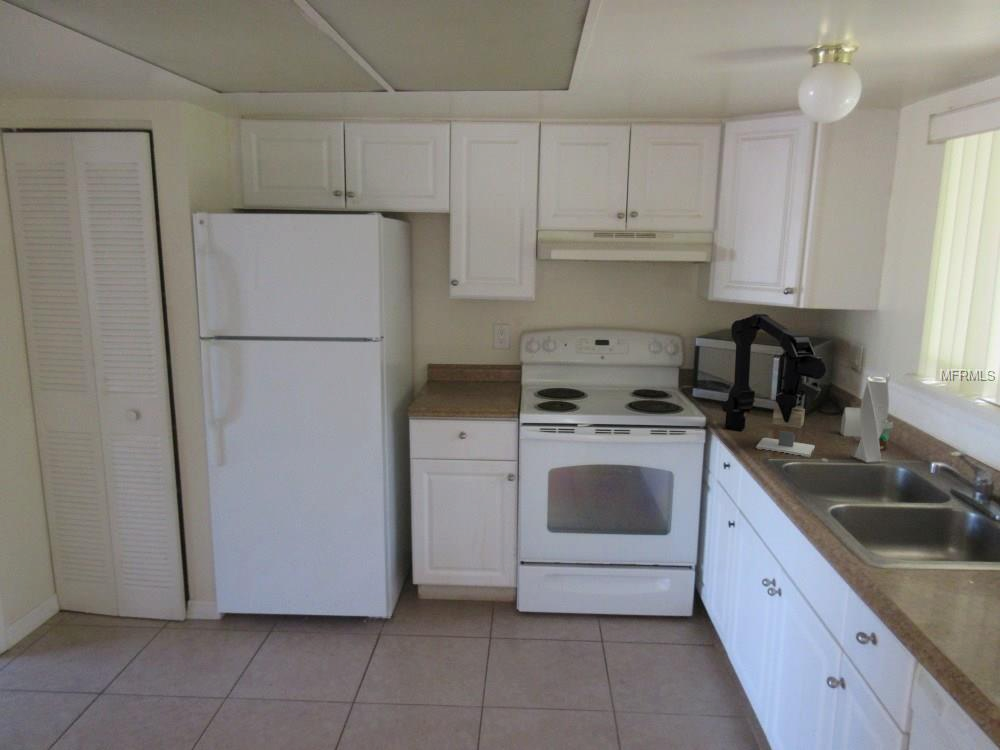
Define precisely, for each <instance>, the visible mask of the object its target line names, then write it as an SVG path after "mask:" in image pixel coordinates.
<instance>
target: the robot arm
mask: <svg viewBox="0 0 1000 750" xmlns="http://www.w3.org/2000/svg"><path fill="white" fill-rule="evenodd" d="M730 328H731V330H730V331H731V338H732V341H734V345H735V362H734V382H733V385H732V387H731V389H730V390H729V393H728V399H727V400H725V402H724V403H723V404H721V410H722V412H724V413H725V422H724V426H723V429H724V430H730V431H731V430H732V431H738V432H742V431H744V430H745V428H747V419H748V417H747V416H746V414H748V413H750V412H751V409H752V407H753V406H754V403H755V401H756V400H755V394H756V392H755V390H752V389H751V387H750V369H751V352H752V345H753V343H754V341H755V340H756V338H757V332H759V331H760V330H762V331H763V332H764V333H766V334H768V335H770V336H771V337H772V338H774V339H775V340H777V341H778V342H779V346H780V347H781V348H782V349H783V350H784V352H783V353H782V354H780V355H779V356H780V358H783V359H784V366H783V375H782V376H781V380H782V384H781V385H782V386H781V388H780V393H778V394H777V395H776V396H775V403H776V404H777V405H779V408H780V410H781V413H782V416H783V419H784V422H787V423H788V422H789V419H790V416H791V412H792V409H793V407H794V408H797V406H798V404H799V402H800V401H801V400H803V399H804V397H805V396H806V397H809V398H811V399H812V400H816V399H817V398H818V396H820V395H819V394H820V393H821V391H822V388H821V387H820V385H819V384H820V383H819V382H818V381H815V380H820V379H822V378H823V377H824V376H825V374H826V370H827V367H826V365H825V363H824V362H823V361H822V360H823V358H822V356H816V353H815V350H814V348H813V346H812V343H811V341H810V338H809V336H808V335H807V334H804V333H801V332H799V331H798V332H797V331H793V330H792V329H791V330H790V329H789V328H787V327H785V326H784V325H782V324H781V323H779V322H777V321H776V320H774V319H773V318H771V317H770V316H769V315H768V314H766V313H754V314H752V315H750V316H748V317H745V318H742V319H739V320H737V319H736V320H735V321H733V323H732V324H731V327H730ZM805 377H806V378H809V379H815V380H814V381H812V382H811V383H810V382H806V381H805ZM800 395H801V396H800Z"/></svg>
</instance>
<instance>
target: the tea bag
mask: <svg viewBox="0 0 1000 750" xmlns="http://www.w3.org/2000/svg"><path fill="white" fill-rule="evenodd" d="M860 409H861V407H847V406H846V407H844V410H843V413H842V417H841V424H840V425H841V426H840V431H839V433H840V435H842V436H843V435H844V436H843V437H851V436H854V437H855V438H861V430H860Z"/></svg>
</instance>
